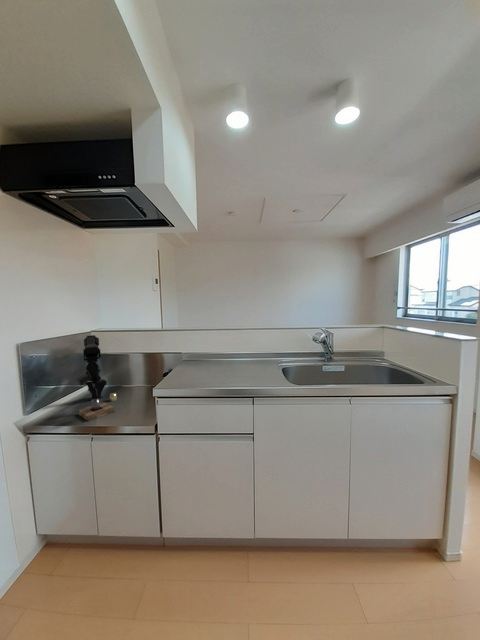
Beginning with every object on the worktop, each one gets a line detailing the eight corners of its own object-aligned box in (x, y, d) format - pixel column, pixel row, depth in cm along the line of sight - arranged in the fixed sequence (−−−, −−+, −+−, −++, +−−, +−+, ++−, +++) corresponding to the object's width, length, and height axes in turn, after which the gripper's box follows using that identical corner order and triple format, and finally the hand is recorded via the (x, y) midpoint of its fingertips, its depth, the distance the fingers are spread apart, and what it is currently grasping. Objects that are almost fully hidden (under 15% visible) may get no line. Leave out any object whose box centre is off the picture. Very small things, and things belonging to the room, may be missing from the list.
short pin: (108, 400, 168) (108, 394, 168) (114, 398, 171) (114, 392, 171) (111, 401, 166) (111, 395, 165) (117, 399, 169) (117, 393, 168)
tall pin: (98, 410, 153) (97, 397, 152) (101, 412, 150) (100, 399, 149) (91, 413, 150) (90, 400, 149) (94, 415, 147) (93, 401, 146)
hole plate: (78, 414, 149) (78, 410, 148) (103, 405, 160) (103, 401, 159) (88, 421, 140) (88, 416, 140) (114, 411, 151) (114, 407, 151)
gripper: (70, 369, 147) (73, 396, 148) (84, 374, 135) (86, 403, 137) (91, 364, 155) (93, 390, 157) (106, 369, 144) (108, 397, 145)
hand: (95, 395), depth 149 cm, fingers open, 9 cm apart
